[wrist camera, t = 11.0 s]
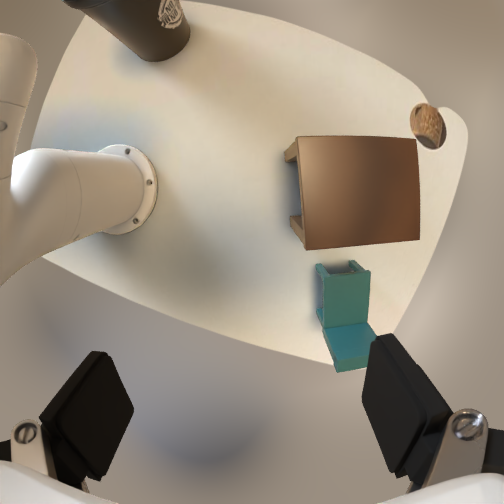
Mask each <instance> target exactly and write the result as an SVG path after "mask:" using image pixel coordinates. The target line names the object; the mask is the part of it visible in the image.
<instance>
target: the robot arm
mask: <svg viewBox="0 0 504 504" xmlns="http://www.w3.org/2000/svg"><path fill="white" fill-rule="evenodd" d="M37 65H38V62H37V56H36V53H35V51H34V49H33V48H32V47H31V46H30V45H29V44H28V43H27V42H26V41H24V40H22V39H20V38H18V37H16V36H13V35H9V34H4V33H0V287H1V286H2V285H3V284H4V283H5V282H6V281H7V280H8V279H9V278H10V277H11V276H12V275H14V274H15V273H16V272H17V271H18V270H19V269H21V268H22V267H23V266H25V265H26V264H28V263H30V262H32V261H33V260H35V259H37V258H39V257H41V256H43V255H45V254H47V253H49V252H51V251H54V250H56V249H58V248H61V247H63V246H65V245H68V244H70V243H72V242H75V241H77V240H80V239H82V238H84V237H87V236H89V235H92V234H94V233H97V232H99V231H103V232H105V233H109V234H114V235H116V234H124V233H128V232H130V231H133V230H135V229H136V228H138V227H139V226H141V225H142V224H143V223H144V222H145V221H146V220H147V218H148V217H149V215H150V214H151V212H152V210H153V208H154V205H155V201H156V198H157V189H158V188H157V178H156V174H155V170H154V168H153V166H152V163H151V162H150V161H149V159H148V158H147V156H146V155H144V154H143V153H142V152H141V151H140V150H138V149H136V148H135V147H131V146H128V145H122V144H117V145H111V146H107V147H105V148H103V149H101V150H100V151H99V152H97V153H94V152H84V151H73V150H61V149H48V148H40V149H33V150H29V151H27V152H24V153H22V154H20V155H18V156H16V157H15V152H16V147H17V143H18V138H19V135H20V131H21V126H22V123H23V120H24V116H25V113H26V109H27V105H28V102H29V99H30V96H31V93H32V89H33V86H34V83H35V79H36V75H37ZM129 151H130V154H129ZM14 157H15V158H14ZM151 181H152V184H150V182H151ZM137 219H138V220H139V222H138V221H137ZM362 403H363V406H364V408H365V411H366V413H367V416H368V418H369V421H370V423H371V426H372V428H373V430H374V433H375V436H376V438H377V441H378V443H379V446H380V448H381V451H382V454H383V456H384V459H385V462H386V464H387V467H388V469H389V471H390V472H391V473H395V475H396V478H400V477H403V476H406V475H408V477H409V479H410V481H411V483H410V485H409V488H408V490H407V492H406V494H405V495H402V496H399V497H396V498H394V499H390V500H387V501H384V502H381V503H377V504H504V431H503V430H497V429H491V428H488V422H487V419H486V417H485V416H484V415H483V414H482V413H480V412H479V411H477V410H474V409H462V410H459V411H457V412H455V413H453V412H452V410H451V409H450V407H449V406H448V404H447V403H446V401H445V400H444V399H443V397H442V396H441V394H440V393H439V392H438V391H437V389H436V387H435V386H434V385H433V384H432V382H431V381H430V379H429V378H428V377H427V375H426V374H425V373H424V371H423V370H422V369H421V367H420V366H419V365H418V364H416V363H415V362H414V360H413V359H412V358H411V356H410V355H409V354H408V353H407V351H406V350H405V348H404V347H403V346H402V345H401V343H400V342H399V341H398V340H397V338H396V337H395V336H394V335H393V334H392V333H390V334H385V335H380V336H377V337H376V338H375V341H372V342H371V344H370V351H369V358H368V364H367V370H366V376H365V382H364V387H363V392H362ZM133 413H134V407H133V405H132V402H131V400H130V398H129V396H128V394H127V392H126V390H125V388H124V386H123V383H122V381H121V379H120V377H119V374H118V372H117V370H116V367H115V365H114V362H113V360H112V358H111V357H110V356H108V354H107V353H106V352H100V351H92V352H90V353H89V355H88V356H87V357H86V358H85V359H84V361H83V362H82V363H81V364H80V365H79V367H78V368H77V369H76V370H75V371H74V373H73V374H72V375H71V376H70V378H69V379H68V380H67V381H66V383H65V384H64V385H63V386H62V388H61V389H60V390H59V392H58V393H57V394H56V395H55V397H54V398H53V399H52V400H51V402H50V403H49V404H48V406H47V407H46V408H45V410H44V411H43V412H42V414H41V415H40V416H39V419H40V420H41V422H42V425H41V426H40V425H39V424H38V422H36V421H34V420H31V419H27V420H23V421H21V422H19V423H18V424H16V425H15V427H14V428H13V430H12V432H11V439H10V440H7V441H3V442H0V504H119V503H116V502H112V501H109V500H106V499H103V498H100V497H97V496H94V495H92V494H90V493H89V490H88V488H87V485H86V482H85V477H86V476H87V477H88V478H91V479H93V480H97V481H101V478H102V476H104V475H106V473H107V471H108V469H109V466H110V464H111V462H112V459H113V457H114V455H115V452H116V450H117V448H118V446H119V443H120V442H121V439H122V437H123V435H124V433H125V431H126V428H127V426H128V424H129V422H130V420H131V417H132V415H133Z"/></svg>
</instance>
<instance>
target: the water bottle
mask: <svg viewBox="0 0 504 504" xmlns="http://www.w3.org/2000/svg"><path fill="white" fill-rule="evenodd" d="M62 1H63V2H64V3H66V4H67V5H68V6H70V7H72V8H75V9H80V10H81V11H83V12H84V13H85V14H87V15H88V16H89V17H91V18H92V19H93V20H95V21H96V22H97V23H99V24H100V25H101V26H102V27H104V28H105V29H106V30H107V31H109V32H110V33H111V34H113V35H114V36H115V37H116V38H117V39H119V40H120V41H121V42H122V43H124V44H125V45H126V46H127V47H128V48H130V49H131V50H132V51H133V52H134V53H136V54H137V55H138V56H139V57H140V58H142V59H143V60H145V61H149V62H158V61H163V60H166V59H169V58H171V57H173V56H174V55H176V54H177V53H179V52H180V51H181V50H182V49H183V48H184V47H185V45H186V44H187V42H188V40H189V37H190V28H189V25H188V23H187V21H186V18H185V16H184V13H183V10H182V7H181V5H180V2H179V0H62Z"/></svg>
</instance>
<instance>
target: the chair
mask: <svg viewBox="0 0 504 504" xmlns="http://www.w3.org/2000/svg"><path fill="white" fill-rule="evenodd" d="M349 266H350V267H351V268H352V269H353V270H354V271H355V272H347V273H338V274H329V273H328V272H327V271H326V269H325V268H324V266H323V265H322V264H316V270H317V271H318V273H319V274H320V276H321V278H322V279H323V310H322V308H318V309H317V315H318V317H319V320H320V322H321V325H322V327H323V330H322V332H323V334H324V339H325V341H326V344H327V346H328V349H329V351H330V354H331V356H332V359H333V361H334V366H335V369H336V372H337V373H338V372H344V371H350V370H355V369H360V368H365V367H367V364H368V358H369V351H370V344H371V342H372V341H375V338H376V337H377V335H376V334H375V333H374V331H373V330H372V328H371V327H370V325H369V324H368V323H367V318H368V307H369V294H370V276H371V272H370V271H369V270H365V269H363V268H362V267H361V266H360V265H359V264H358V263H357V262H356V261H354V260H351V261H349Z"/></svg>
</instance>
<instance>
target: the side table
mask: <svg viewBox="0 0 504 504" xmlns="http://www.w3.org/2000/svg"><path fill="white" fill-rule="evenodd" d="M284 155H285V162H295V161H297V162H298V173H299V184H300V197H301V210H302V216H301V215H298V216H290V224H291V228H292V229H293V230H294V232H295V233H296V235H297V236H298V237H299V239H300V240H301V242H302V243H303V244H304V248H305V250H318V249H329V248H340V247H350V246H361V245H371V244H382V243H392V242H403V241H413V240H420V182H419V165H418V153H417V143H416V139H410V138H397V137H379V136H300V137H296V138H295V142H294V143H293V144H292V145H291V146H290V147H289V148H288V149H287V150H286V151H285V152H284Z"/></svg>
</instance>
